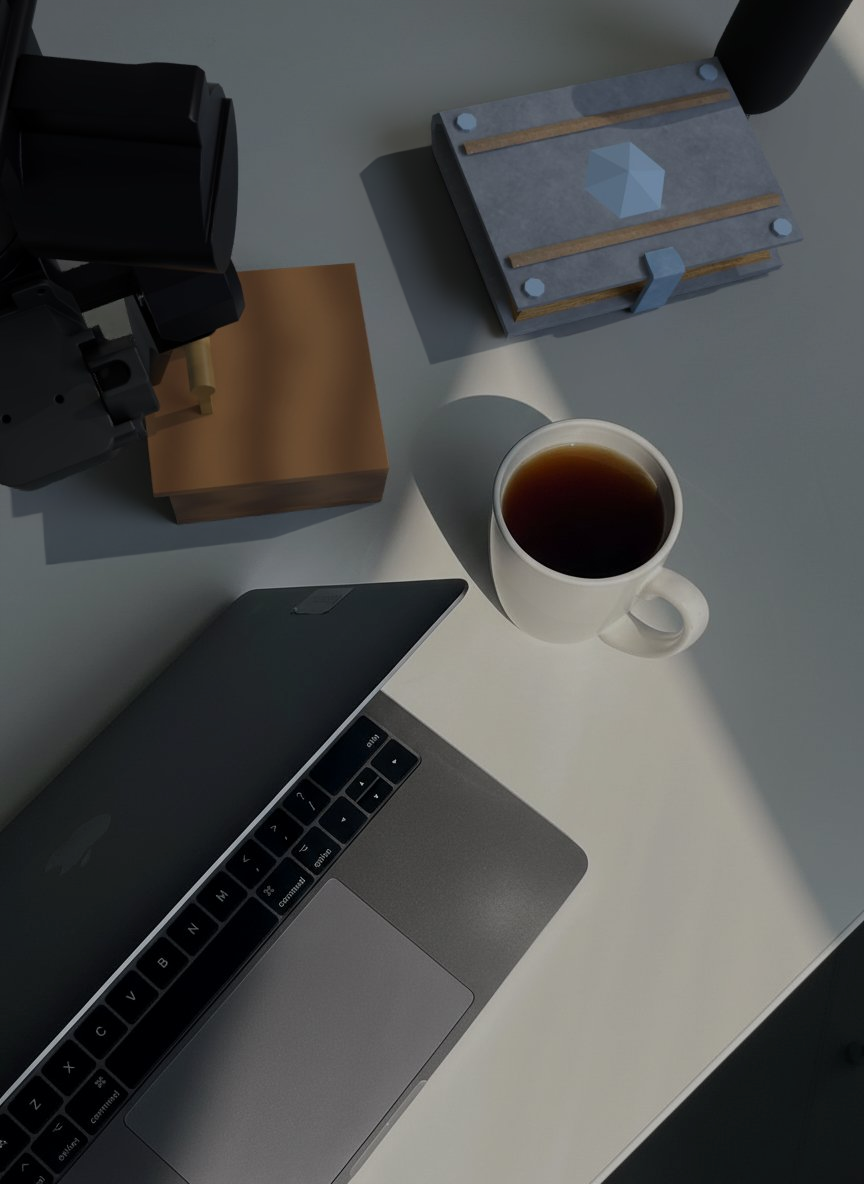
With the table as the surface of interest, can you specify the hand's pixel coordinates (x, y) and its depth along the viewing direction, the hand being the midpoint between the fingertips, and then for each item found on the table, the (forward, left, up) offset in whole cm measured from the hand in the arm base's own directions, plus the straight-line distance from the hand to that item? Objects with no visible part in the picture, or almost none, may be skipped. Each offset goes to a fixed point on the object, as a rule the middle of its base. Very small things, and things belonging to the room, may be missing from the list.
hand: (63, 411), depth 51 cm
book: (-7, +39, -13) cm, 42 cm away
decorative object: (-12, +54, -13) cm, 57 cm away
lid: (-2, +11, -8) cm, 14 cm away
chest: (-2, +11, -13) cm, 17 cm away
